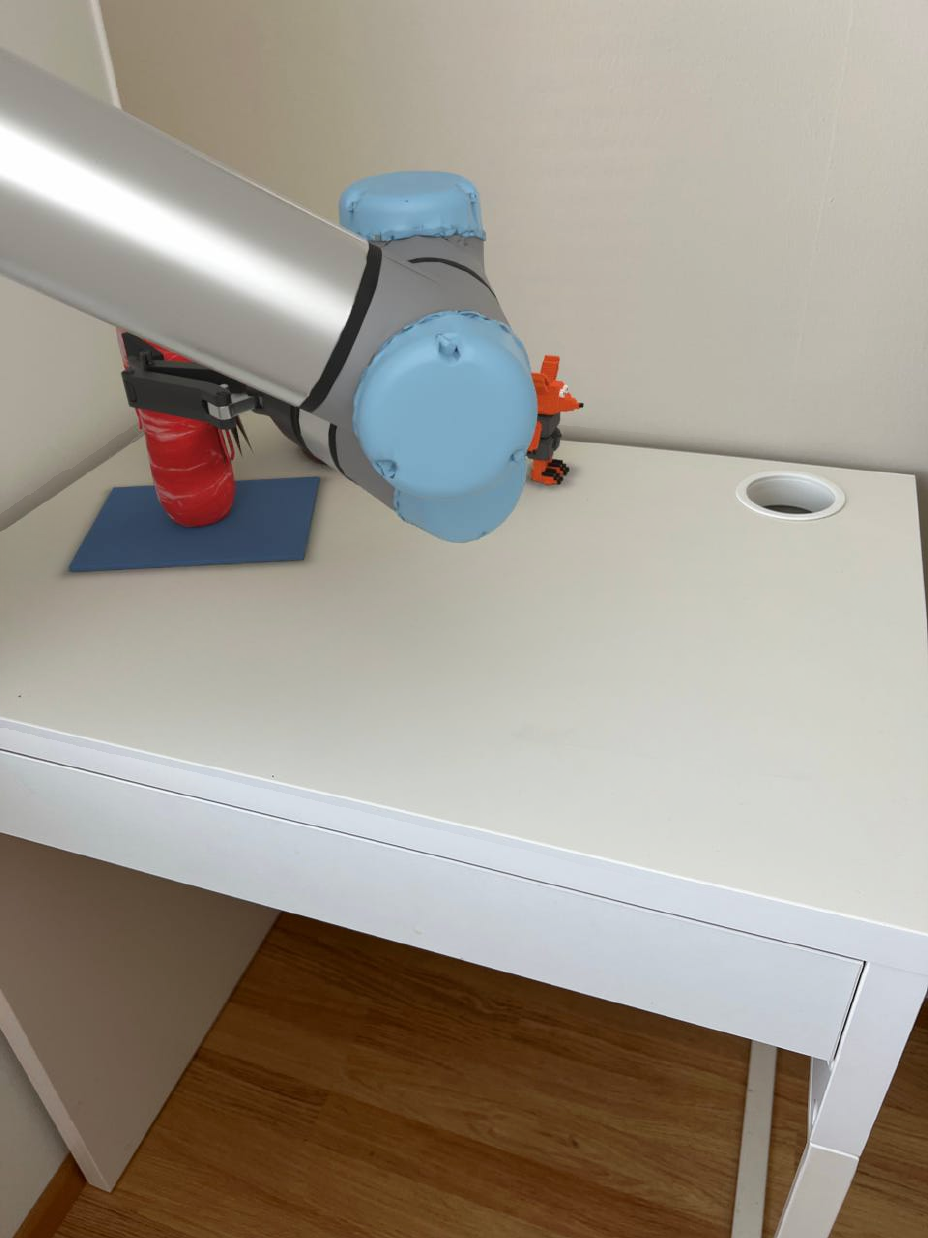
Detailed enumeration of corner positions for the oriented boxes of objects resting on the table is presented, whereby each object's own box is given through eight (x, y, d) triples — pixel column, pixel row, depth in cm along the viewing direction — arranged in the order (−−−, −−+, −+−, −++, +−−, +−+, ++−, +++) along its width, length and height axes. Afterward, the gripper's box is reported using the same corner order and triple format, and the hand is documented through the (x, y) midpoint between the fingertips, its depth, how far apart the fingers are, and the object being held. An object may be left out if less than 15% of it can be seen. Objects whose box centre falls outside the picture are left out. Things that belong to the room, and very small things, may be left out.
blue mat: (69, 572, 94) (68, 567, 94) (114, 491, 107) (113, 487, 107) (303, 559, 94) (302, 555, 93) (320, 480, 107) (319, 476, 106)
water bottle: (287, 501, 102) (243, 249, 88) (252, 541, 96) (199, 276, 81) (182, 491, 105) (123, 245, 91) (141, 529, 99) (71, 272, 84)
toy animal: (570, 497, 101) (571, 383, 94) (519, 489, 103) (516, 378, 96) (592, 462, 107) (595, 353, 100) (543, 456, 109) (542, 349, 102)
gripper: (180, 518, 63) (70, 414, 77) (494, 410, 75) (348, 337, 89) (154, 406, 59) (43, 318, 73) (492, 310, 70) (338, 250, 85)
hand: (210, 328), depth 81 cm, fingers open, 13 cm apart
